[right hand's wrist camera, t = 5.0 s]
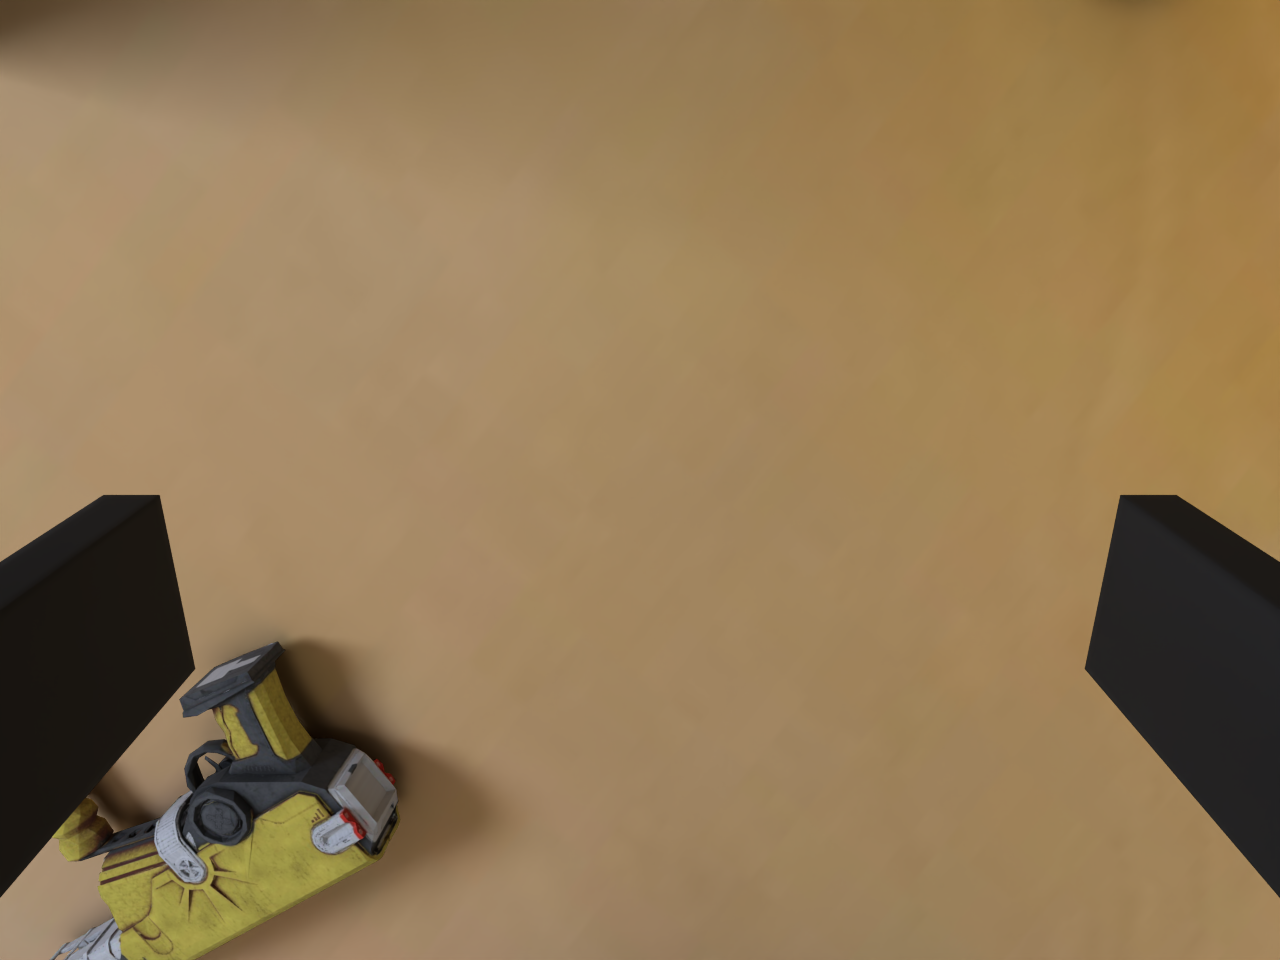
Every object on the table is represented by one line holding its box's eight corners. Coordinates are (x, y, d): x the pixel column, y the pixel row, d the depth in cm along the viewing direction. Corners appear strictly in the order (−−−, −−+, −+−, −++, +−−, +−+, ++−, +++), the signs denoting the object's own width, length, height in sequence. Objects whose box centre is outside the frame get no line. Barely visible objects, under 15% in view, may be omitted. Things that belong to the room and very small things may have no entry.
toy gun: (-143, 845, 45) (59, 1043, 48) (186, 622, 39) (394, 863, 42) (-65, 787, 50) (116, 971, 53) (241, 578, 44) (425, 799, 47)
